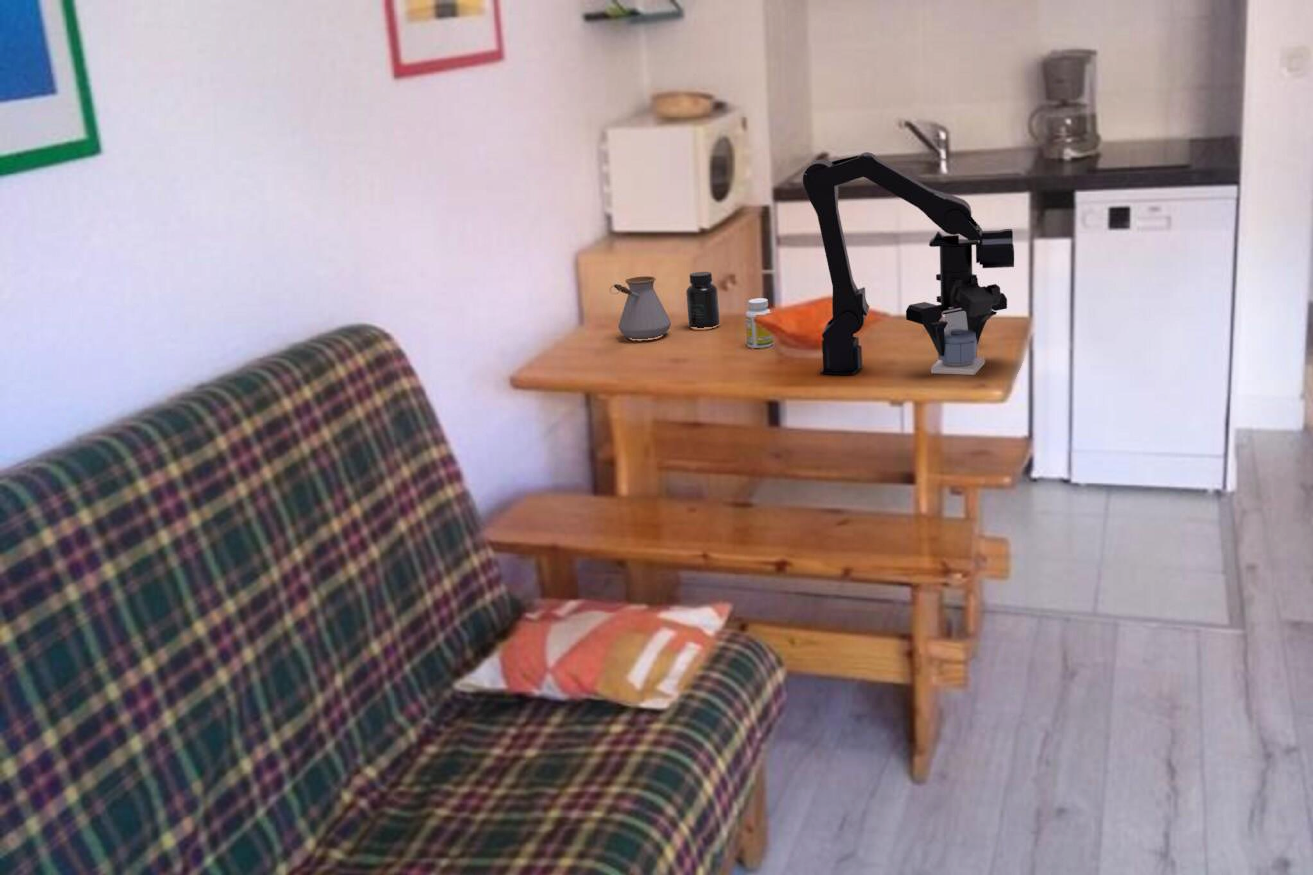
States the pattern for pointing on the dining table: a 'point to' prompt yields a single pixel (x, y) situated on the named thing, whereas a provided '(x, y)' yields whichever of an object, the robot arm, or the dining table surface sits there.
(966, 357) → the cap
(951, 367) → the two-tone square knobbed fixture
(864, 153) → the robot arm
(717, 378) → the dining table surface
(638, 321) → the coffee pot
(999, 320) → the dining table surface
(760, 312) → the supplement bottle
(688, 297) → the supplement bottle
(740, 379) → the dining table surface
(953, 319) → the small box
